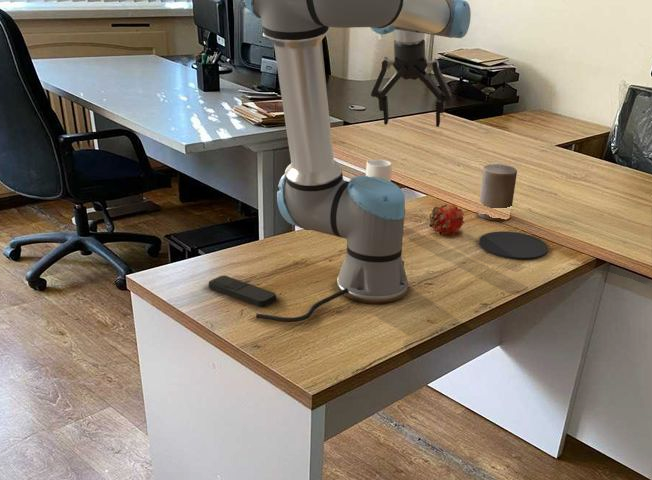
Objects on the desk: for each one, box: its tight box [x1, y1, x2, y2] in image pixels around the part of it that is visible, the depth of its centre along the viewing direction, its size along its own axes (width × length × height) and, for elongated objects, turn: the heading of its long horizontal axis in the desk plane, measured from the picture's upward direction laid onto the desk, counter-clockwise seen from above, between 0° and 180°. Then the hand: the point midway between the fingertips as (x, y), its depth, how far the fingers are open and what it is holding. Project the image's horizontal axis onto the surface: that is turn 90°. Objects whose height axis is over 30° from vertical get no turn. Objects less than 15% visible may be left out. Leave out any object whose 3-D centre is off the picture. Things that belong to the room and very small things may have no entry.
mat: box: [478, 231, 549, 261], centre depth 182 cm, size 18×18×1 cm
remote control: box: [208, 274, 278, 308], centre depth 144 cm, size 5×2×15 cm
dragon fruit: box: [428, 204, 465, 236], centre depth 184 cm, size 8×8×12 cm
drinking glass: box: [365, 158, 393, 182], centre depth 188 cm, size 7×7×15 cm
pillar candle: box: [477, 163, 518, 222], centre depth 197 cm, size 10×10×15 cm
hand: (412, 123), depth 182 cm, fingers open, 13 cm apart
